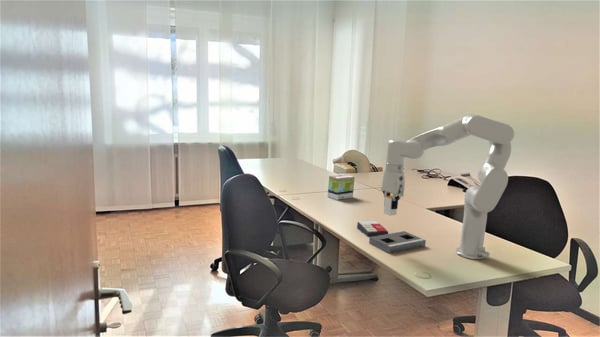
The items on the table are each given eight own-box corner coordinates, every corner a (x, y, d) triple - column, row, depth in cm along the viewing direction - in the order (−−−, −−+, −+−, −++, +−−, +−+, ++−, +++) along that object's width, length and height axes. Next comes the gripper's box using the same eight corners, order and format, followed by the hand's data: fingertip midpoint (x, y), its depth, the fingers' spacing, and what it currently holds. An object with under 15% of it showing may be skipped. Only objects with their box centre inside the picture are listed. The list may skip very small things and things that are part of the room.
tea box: (337, 200, 276) (338, 178, 274) (327, 197, 284) (328, 175, 281) (353, 197, 286) (355, 176, 283) (343, 194, 293) (344, 173, 291)
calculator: (368, 231, 206) (357, 220, 220) (367, 239, 207) (356, 228, 221) (388, 230, 209) (377, 220, 223) (387, 238, 210) (376, 227, 224)
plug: (396, 214, 191) (398, 197, 189) (389, 215, 189) (391, 198, 188) (390, 212, 194) (391, 195, 193) (383, 213, 192) (385, 196, 191)
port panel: (425, 247, 197) (425, 240, 196) (389, 254, 186) (390, 246, 185) (403, 237, 209) (404, 230, 208) (369, 244, 198) (369, 236, 197)
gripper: (414, 170, 183) (409, 211, 186) (388, 164, 197) (384, 202, 200) (401, 171, 179) (397, 213, 182) (375, 164, 193) (372, 203, 196)
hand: (390, 207), depth 191 cm, fingers closed on plug, 4 cm apart
